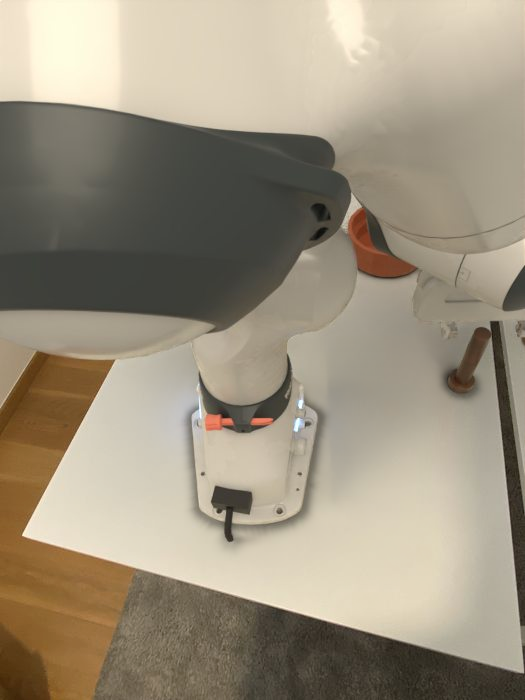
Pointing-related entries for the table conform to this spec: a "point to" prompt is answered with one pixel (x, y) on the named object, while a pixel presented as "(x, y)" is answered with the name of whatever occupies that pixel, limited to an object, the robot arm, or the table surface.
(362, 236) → the bowl
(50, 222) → the robot arm
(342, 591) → the table surface
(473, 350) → the masher
